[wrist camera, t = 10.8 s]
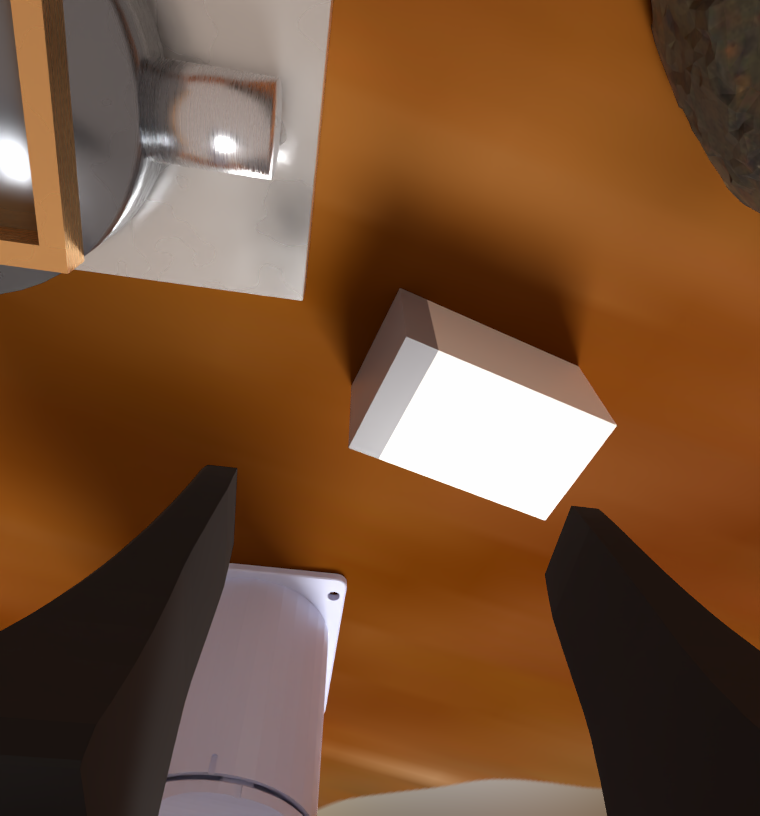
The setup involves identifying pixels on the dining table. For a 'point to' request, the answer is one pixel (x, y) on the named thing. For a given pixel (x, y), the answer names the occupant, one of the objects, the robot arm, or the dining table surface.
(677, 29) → the hand tool
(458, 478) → the block
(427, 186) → the dining table surface
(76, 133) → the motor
